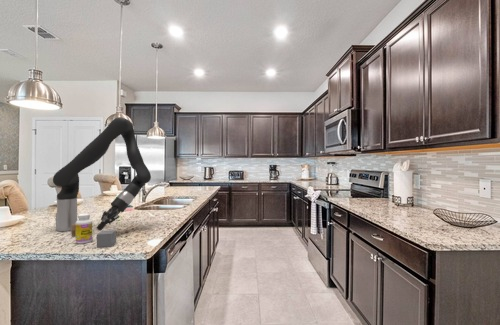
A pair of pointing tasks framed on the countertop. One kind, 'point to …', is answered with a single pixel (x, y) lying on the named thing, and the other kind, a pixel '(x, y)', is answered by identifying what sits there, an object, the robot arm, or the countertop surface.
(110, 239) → the charcoal block
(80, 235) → the supplement bottle
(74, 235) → the walnut block
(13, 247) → the countertop surface
